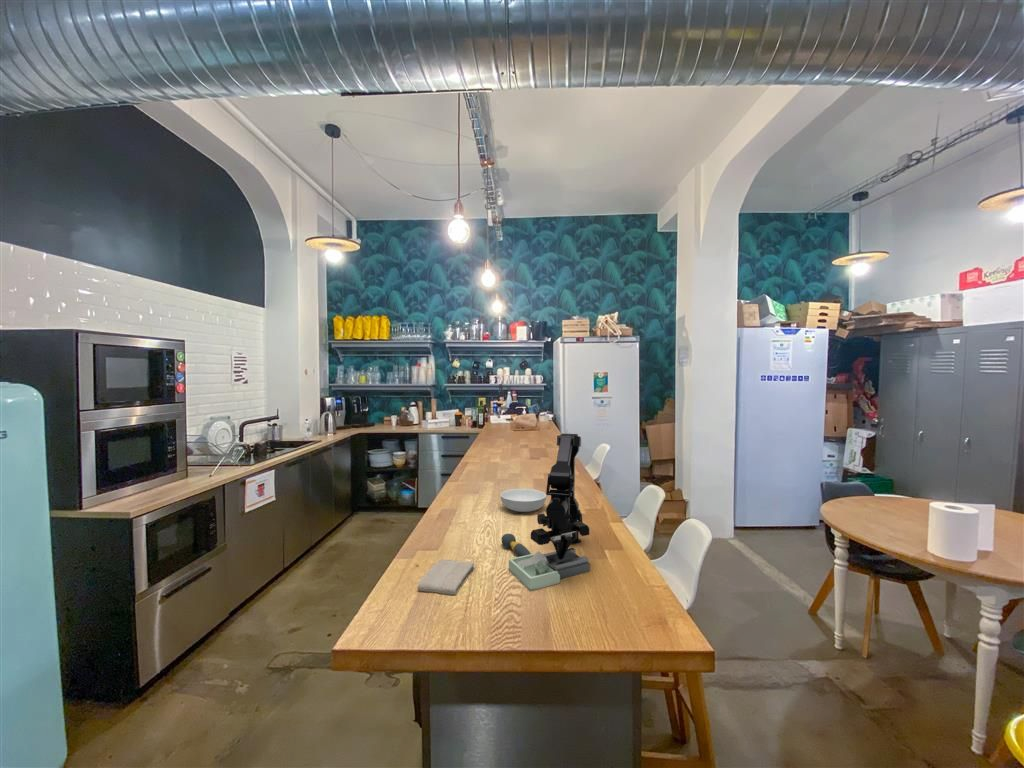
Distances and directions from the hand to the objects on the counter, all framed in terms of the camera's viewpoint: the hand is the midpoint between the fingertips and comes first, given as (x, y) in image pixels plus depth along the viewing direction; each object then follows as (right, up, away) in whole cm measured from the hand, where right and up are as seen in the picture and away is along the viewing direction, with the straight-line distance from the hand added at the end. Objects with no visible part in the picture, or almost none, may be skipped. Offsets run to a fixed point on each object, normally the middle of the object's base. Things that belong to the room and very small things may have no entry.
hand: (560, 559), depth 132 cm
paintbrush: (-13, -3, +13) cm, 19 cm away
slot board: (+1, -3, +1) cm, 4 cm away
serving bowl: (-10, -2, +59) cm, 60 cm away
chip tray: (-9, -3, -5) cm, 10 cm away
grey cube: (-6, -2, -3) cm, 7 cm away
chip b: (-9, -1, -4) cm, 10 cm away
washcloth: (-35, -4, -6) cm, 35 cm away
